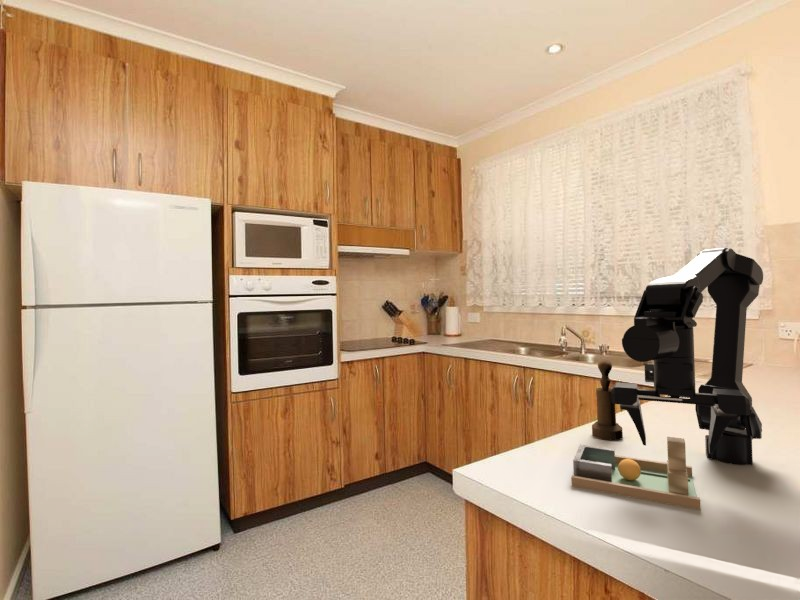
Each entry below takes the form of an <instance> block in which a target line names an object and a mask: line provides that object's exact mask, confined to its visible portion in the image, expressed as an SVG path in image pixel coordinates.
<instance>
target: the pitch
mask: <svg viewBox="0 0 800 600" xmlns="http://www.w3.org/2000/svg"><path fill="white" fill-rule="evenodd" d="M624 459H631V460H634V461H635V462H636V463H637V464H638V465H639V466H640V469H641V474H640V476H639V478H638V479H636V480H627V479H625V478H623V477H622V476H621V475H620V473H619V471H618V465H619V463H620V462H621V461H622V460H624ZM686 470H687V474H688V495H686V494H680V493H674V492H669V487H668V478H667V461H666V462H664V461H658V460H651V459H645V458H637V457H631V456H623V455H617V454H615V470H614V469H612V482H608V481H602V480H596V479H590V478H585V477H579V476H574V474H573V475H571V487H573V488H574V487H575V488H580V489H585V490H590V491H596V492H602V493H606V494H611V495H612V494H613V495H616V496H617V495H618V496H623V497H629V498H632V499H633V498H634V499H639V500H644V501H650V502H655V503H659V504H665V505H669V506H670V505H671V506H676V507H681V508H686V509H687V508H688V509H692V510H698V511H701V510H702V508H701V507H702V505H701V498H700V497H698V494H697V490H696V486H695V482H694V478H693V467H692V465H687V464H686Z"/></svg>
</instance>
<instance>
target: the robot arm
mask: <svg viewBox="0 0 800 600" xmlns="http://www.w3.org/2000/svg"><path fill="white" fill-rule="evenodd" d="M696 255H697V256H696V257H694V258H693V259H692V260H691V261H690V262H689V263H688V264H687V263H686V265H685V266H684V267H682V268H681V269H680V270H678V272H676V273H675V274H673V275H670V276H669V275H668V276H666V277H664V276H663V277H660V278H658V279H655V280H653V281H650V282H649V283H647V285H646V287H645V289H644V291H643V293H642V295H641V298H640V301H639V304H638V306H637V309H636V312H635V315H634V318H633V325H632V326H630V327H629V328H627V329H626V331H625V332H624V334H623V337H622V339H621V345H622V349H623V351H624V352H625V354H626V355H627V356H628V357H629V358H630V359H631V360H633V361H636V362H640V363H644V381H645V383H653V389H649V388H648V389H644V388H639V387H638V383H635V382H632V383H630V382H615V383H614V384H613V385H612V386H611V388H612V389H611V402H612V403H613V404H615V405H620V406H619V409H620V410H622V411H626V412H627V413H628V415H629V417H630V418H631V420H632V422H633V423H634V426H635V428H636V430H637V433H638V435H639V437H640V441H641V443H642V445H643V446H647V436H646V430H645V425H644V419H643V413H642V412H643V411H642V406H641V401H648V402H649V401H650V402H659V403H660V402H662V403H665V402H666V403H673V404H675V403H676V404H685V405H686V404H689V405H695V408H694V409H695V415H696V419H697V423H698V428H699V429H700V430H706V431H708V434H706V435H705V436H704V437H705V438H704V440H705V441H704V442H705V444H704V445H705V456H706V458H707V459H708V460H714V461H718V462H720V463H724V464H728V465H733V466H735V465H737V466H745V465H750V466H753V465H754V463H753V461H754V460H753V440H754V439H757V440H761V439H762V437H763V436H762V432H763V428H762V427H763V423H762V421H761V420H760V418H759V416H758V414H757V412H756V410H755V408H754V406H753V398H752V396H751V394H750V392H749V391H748V390H747V388H746V387H745V385H744V383H743V373H744V371H743V370H744V357H745V356H744V354H745V341H746V328H747V327H746V325H747V324H746V323H747V310H748V308H749V306H751V304H752V303H753V302H754V300H755V299H757V297H758V296H759V293H760V285H761V286H762V284H763V281H764V271H763V268H762V267H761V266H760V265H759V264H758V261H757V262H756V260H755V259H754V258H752V257H748V256H745V255H742V254H739V253H736V252H735V250H734V249H732V248H731V247H730V248H727V247H719V248H710V249H709V248H708V249H703V250H702V251H698V252H697V254H696ZM705 289H707V293H708V295H709V296H710V297H711V299H712V300H713V302H714V303H715V305H716V310H715V321H714V322H715V323H714V331H713V332H714V333H713V334H714V335H713V346H712V347H713V348H712V358H711V359H712V360H711V362H712V363H711V373H710V374H711V376H710V378H709V379H708V380H707V382H705V383H704V384H700V385H699V387H698V389H697V390H698V392H696V368H695V364H696V363H695V338H694V336H695V335H694V327H697V326H698V323H697V322H696V320H695V319H693V318H695V317H696V315H697V314H698V311H699V308H700V307H701V305H702V304H703V302H704V295H703V293H702V292H703V291H704V290H705ZM651 361H653V363H645V362H651Z"/></svg>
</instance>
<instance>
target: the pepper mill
mask: <svg viewBox="0 0 800 600" xmlns="http://www.w3.org/2000/svg"><path fill="white" fill-rule="evenodd" d="M597 368H598V371H599V372H600V373H601V378H599V382H600V387H597V388H595V395H596V412H597V413H596V414H597V416H596V417H597V418H596V419H597V421H595V422H594V423H592V425H591V434H592V436H593V437H594V438H596V439H598V440H604V441H610V442H611V441H619V440H622V439H623V438H624V436H623V435H624V434H623V433H624V432H623V427H622V426H621V425H620V424H619V423H617V416H616V415H617V414H616V404H613V403H612V402H611V389H612V387H610V384H611V378H610V376H609V374H610V372H611V371H612V368H613V364H612V363H611V361H609V360H607V359H601V360H599V362H598V364H597Z"/></svg>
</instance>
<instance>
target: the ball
mask: <svg viewBox="0 0 800 600" xmlns="http://www.w3.org/2000/svg"><path fill="white" fill-rule="evenodd" d="M618 471H619V473H620V475H621V476H622V477H623V478H625V479H627V480H636V479H638V478H639V476H640V474H641V469H640V466H639V465H638V464H637V463H636V462H635V461H634V460H631V459H624V460H622V461H621V462H620V463H619V465H618Z"/></svg>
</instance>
